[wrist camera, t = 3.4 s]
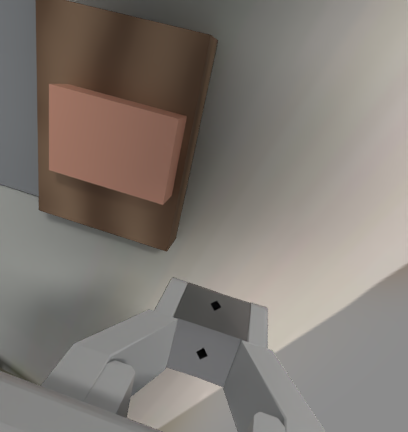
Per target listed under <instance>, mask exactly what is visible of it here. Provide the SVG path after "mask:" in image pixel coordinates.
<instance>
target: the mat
mask: <svg viewBox="0 0 408 432" xmlns="http://www.w3.org/2000/svg"><path fill="white" fill-rule="evenodd" d="M0 184H1V185H5V186H8V187H11V188H14V189H17V190H20V191H23V192H27V193H30V194H33V195H36V196H39V188H38V126H37V64H36V2H35V0H0Z"/></svg>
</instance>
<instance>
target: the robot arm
mask: <svg viewBox="0 0 408 432" xmlns="http://www.w3.org/2000/svg"><path fill="white" fill-rule="evenodd" d="M166 367H167V368H170V369H173V370H176V371H180V372H183V373H186V374H189V375H192V376H195V377H198V378H200V379H203V380H206V381H208V382H211V383H213V384H216V385H219V386H221V387H224V388H223V390H224V393H225V396H226V399H227V401H228V405H229V408H230V410H231V413H232V416H233V419H234V422H235V425H236V428H237V431H238V432H325V430H324V429H323V427H322V425H321V424H320V422H319V421H318V419H317V418H316V417H315V415H314V413H313V412H312V410H311V409H310V407H309V406H308V404H307V402H306V401H305V399H304V398H303V396H302V395H301V393H300V392H299V390H298V389H297V387H296V386H295V384H294V383H293V381H292V379H291V378H290V377H289V375H288V373H287V372H286V370H285V369H284V367H283V366H282V364H281V363H280V361H279V360H278V358H277V357H276V355H275V353H274V352H273V351H272V350H270V349H268V309H267V307H265V306H261V305H258V304H254V303H249V302H246V301H243V300H240V299H236V298H233V297H230V296H227V295H224V294H221V293H218V292H215V291H213V290H210V289H207V288H204V287H201V286H198V285H195V284H192V283H188V282H186V281H183V280H180V279H177V278H174V277H173V278H172V279H171V280H170V282H169V284H168V285H167V287H166V289H165V291H164V293H163V295H162V297H161V298H160V300H159V302H158V304H157V306H156V308H155V310H154V311H153V310H150V309H149V310H147V311H144V312H142V313H140V314H138V315H136V316H133V317H131V318H129V319H127V320H125V321H122V322H120V323H118V324H116V325H114V326H111V327H109V328H107V329H105V330H103V331H100V332H98V333H96V334H94V335H92V336H90V337H87V338H85V339H83V340H81V341H79V342H76V343H74V344H73V345H72V347H71V348H70V349H69V350H68V352H67V353H66V354H65V355H64V357H63V358H62V359H61V361H60V362H59V363H58V364H57V366H56V367H55V368H54V369H53V371H52V372H51V373H50V375H49V376H48V377H47V378H46V380H45V381H44V382H43V383H42V385H41V386H39V385H37V384H34V383H31V382H29V381H26V380H23V379H21V378H18V377H15V376H13V375H10V374H7V373H4V372H1V371H0V432H162V431H160V430H157V429H154V428H152V427H149V426H146V425H144V424H141V423H138V422H136V421H133V420H130V419H128V418H127V413H128V408H129V402H130V397H131V396H132V395H134V394H135V393H136V392H137V391H139V390H140V389H141V388H142V387H144V386H145V385H146V384H147V383H149V382H150V381H151V380H153V379H154V378H155V377H156V376H158V375H159V374H160V373H161V372H163V371H164V370H165V369H166Z"/></svg>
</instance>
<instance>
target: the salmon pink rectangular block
mask: <svg viewBox="0 0 408 432" xmlns="http://www.w3.org/2000/svg"><path fill="white" fill-rule="evenodd" d="M186 119H187V116H184V115H181V114H177V113H173V112H170V111H166V110H162V109H158V108H155V107H151V106H147V105H144V104H140V103H136V102H133V101H129V100H125V99H121V98H118V97H114V96H110V95H107V94H103V93H99V92H95V91H92V90H88V89H84V88H81V87H77V86H73V85H70V84H49V170H50V171H54V172H57V173H60V174H63V175H67V176H70V177H73V178H77V179H80V180H83V181H86V182H90V183H93V184H96V185H99V186H103V187H106V188H109V189H112V190H116V191H119V192H122V193H126V194H129V195H132V196H135V197H139V198H142V199H145V200H148V201H152V202H155V203H158V204H162V205H163V204H164V203H165V202H166V201H167V200H168V199H169V198H170V197H171V196H172V192H173V186H174V181H175V176H176V171H177V166H178V160H179V155H180V150H181V145H182V140H183V134H184V129H185V124H186Z"/></svg>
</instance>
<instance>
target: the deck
mask: <svg viewBox="0 0 408 432" xmlns="http://www.w3.org/2000/svg"><path fill="white" fill-rule="evenodd" d="M35 2H36V64H37V126H38V188H39V210H40V211H43V212H46V213H49V214H52V215H55V216H58V217H62V218H65V219H68V220H71V221H74V222H77V223H80V224H83V225H86V226H89V227H93V228H96V229H99V230H102V231H105V232H108V233H111V234H114V235H117V236H120V237H124V238H127V239H130V240H133V241H136V242H139V243H142V244H145V245H148V246H151V247H154V248H158V249H161V250H164V251H168V249H169V248H170V246H171V245H172V243H173V242H174V240H175V239H176V235H177V231H178V226H179V221H180V217H181V212H182V207H183V202H184V198H185V193H186V188H187V184H188V179H189V174H190V170H191V165H192V160H193V155H194V151H195V146H196V141H197V137H198V132H199V127H200V123H201V118H202V113H203V109H204V104H205V99H206V94H207V90H208V85H209V80H210V76H211V71H212V66H213V62H214V57H215V52H216V47H217V43H218V40H217V39H215V38H214V37H213V36H212V35H209V34H205V33H201V32H196V31H192V30H188V29H184V28H180V27H175V26H171V25H167V24H163V23H159V22H154V21H150V20H146V19H142V18H138V17H133V16H129V15H125V14H121V13H117V12H112V11H108V10H104V9H100V8H96V7H91V6H87V5H83V4H79V3H75V2H70V1H66V0H35ZM49 84H70V85H73V86H77V87H81V88H84V89H88V90H92V91H95V92H99V93H103V94H107V95H110V96H114V97H118V98H121V99H125V100H129V101H133V102H136V103H140V104H144V105H147V106H151V107H155V108H158V109H162V110H166V111H170V112H173V113H177V114H181V115H184V116H187V119H186V124H185V129H184V134H183V140H182V145H181V150H180V155H179V160H178V166H177V171H176V176H175V181H174V186H173V192H172V196H171V197H170V198H169V199H168V200H167V201H166V202H165V203H164V204H163V205H162V204H158V203H155V202H152V201H148V200H145V199H142V198H139V197H135V196H132V195H129V194H126V193H122V192H119V191H116V190H112V189H109V188H106V187H103V186H99V185H96V184H93V183H90V182H86V181H83V180H80V179H77V178H73V177H70V176H67V175H63V174H60V173H57V172H54V171H50V170H49Z"/></svg>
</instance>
